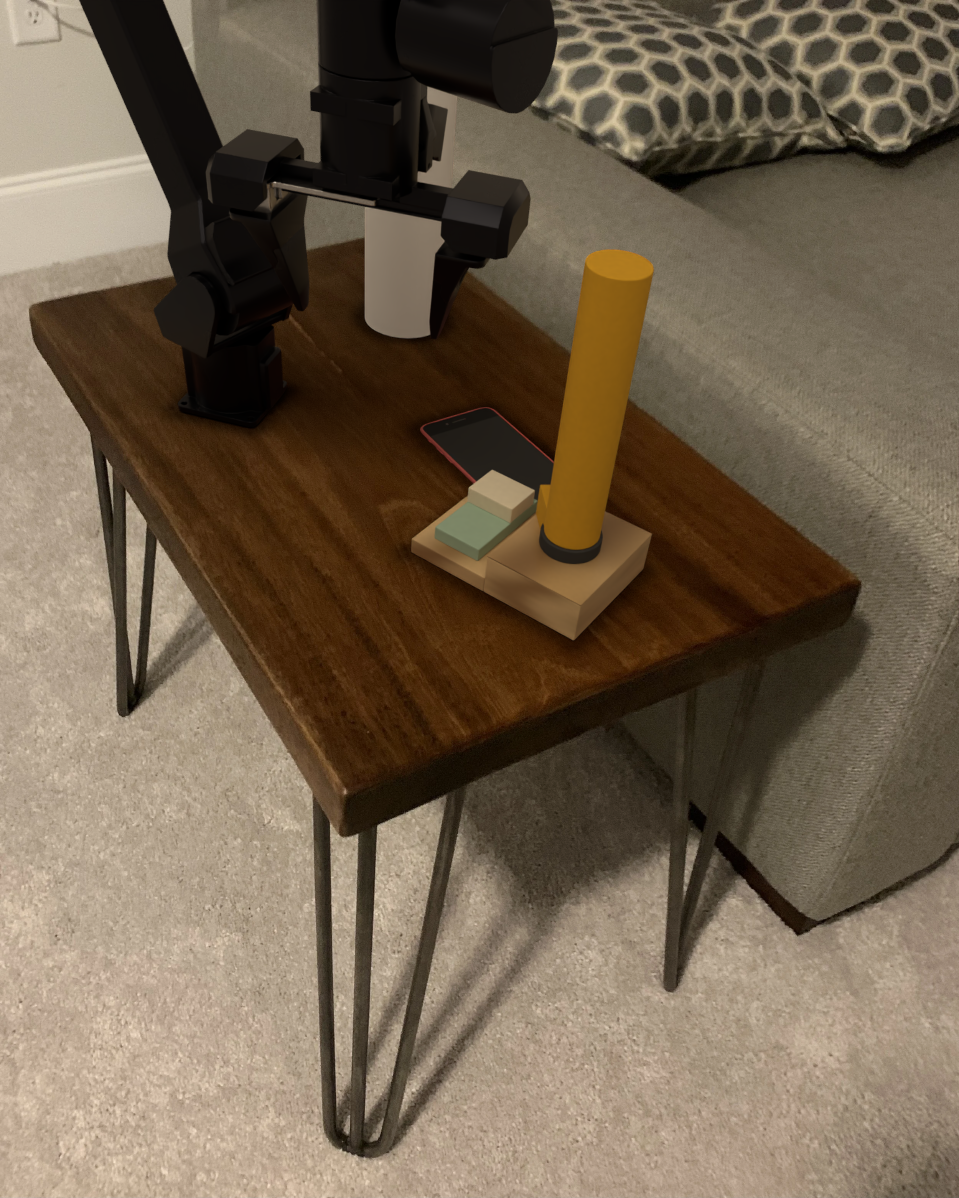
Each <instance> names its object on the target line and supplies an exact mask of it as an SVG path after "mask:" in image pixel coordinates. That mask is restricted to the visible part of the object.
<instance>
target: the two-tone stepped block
mask: <svg viewBox="0 0 959 1198" xmlns="http://www.w3.org/2000/svg"><path fill="white" fill-rule="evenodd" d="M467 490H468V492H467V496H468V502H467V503H465V504H464V505H463V506H462V507H460V508H459V509H458V510H456V511H455V512H454V513H453V514H451V515H450V516H449V517H447V518H446V519H445V520H444V521H442V522H441V523H440V524H438V525H437V526H436V527H435V539H437V540H439V541H441V542H443V543H445V544H447V545H448V546H450V547H452V548H454V549H456V550H458V551H460V552H462V553H463V554H465V555H467V556H469V557H471V558H473V559H475V560H477V561H478V560H479V559H481V558H482V557H483V556H484V555H485V554H487V553H488V552H489V551H490V550H491V549H492V548H494V547H495V546H496V545H497V544H498V543H500V542H501V541H502V540H503V539H504V538H505V537H507V536H508V535H509V534H510V533H511V532H513V531H514V530H515V529H516V528H517V527H518V526H520V525H521V524H522V523H523V522H524V521H526V520H527V519H528V518H529V517H530V516H531V515H533V514H534V513H535V512H536V509H537V502H538V501H537V500H536V499H534V494H535V490H533V489H531V488H529V487H527V486H525V485H523V484H521V483H519V482H516V481H514V480H512V479H510V478H508V477H506V476H504V475H502V474H500V473H498V472H496V471H494V470H491V471H490V472H489V473H487V474H486V475H485V476H483V477H482V478H481V479H479V480H478V481H477V482H475V483H474V484H473V483H472V484H471V485H470V486H469V487H468V489H467Z"/></svg>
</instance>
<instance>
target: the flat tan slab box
mask: <svg viewBox="0 0 959 1198" xmlns="http://www.w3.org/2000/svg"><path fill="white" fill-rule="evenodd" d="M467 502H468V495H467V496H465V497H464V498H463V499H461V500H460V501H458V503H456V504H455V505H454V506H452V507H451V508H450V509H448V510H446V511H445V513H443V514H442V515H440V516H439V517H438V518H437V519H435V520H434V521H433V522H431V523H429V525H428V526H427V527H425V528H424V529H423V530H421V531H420V532H418V533H417V534H416V535H414V537H412V538H411V545H410V547H411V548H410V552H411V553H412V554H414V555H416V556H417V557H419V558H421V559H423V560H424V561H427V562H428V563H430V564H431V565H434V566H436V567H437V568H439V569H441V570H443V571H445V572H446V573H448V574H451V575H452V576H454V577H456V578H458V579H460V580H461V581H463V582H465V583H467V584H469V585H470V586H473V587H474V588H476V589H477V590H480V591H481V592H483V593H485V594H487V595H489V596H491V597H493V598H495V599H496V600H498V601H500V602H501V603H504V604H506V606H509V607H510V608H512V609H515V610H517V611H518V612H520V613H522V614H524V615H526V616H527V617H529V618H530V619H533V620H535V621H537V622H538V623H540V624H542V625H544V626H545V627H547V628H549V629H551V630H553V631H555V632H557V633H559V634H561V635H562V636H564V637H566V638H567V639H570V640H572V641H575V640H576V639H577V638H578V637H579V636H580V635H581V634H582V633H584V631H585V630H586V629H587V628H588V627H589V626H590V625H591V623H593V621H594V620H596V619H597V618H598V616H599V615H600V614H601V613H602V612H603V611H604V610H605V609H606V608H607V607H608V606H609V605H610V604H611V603H612V602H613V601H614V600H615V599H616V598H617V597H618V596H619V595H620V594H621V593H622V592H623V591H624V589H626V588H627V586H629V584H630V583H631V582H633V580H634V579H635V578H636V577H638V575H639V574H640V573H641V572H642V571H643V570H644V568H645V563H646V559H647V555H648V551H649V548H650V543H651V540H652V536H653V533H652V532H649V531H648V530H645V529H643V528H641V527H639V526H637V525H635V524H633V523H630V522H629V521H627V520H624V519H622V518H621V517H619V516H616V515H614V514H612V513H610V512H608V511H606V510H605V514H604V519H603V524H602V529H601V531H602V534H603V539H602V544H601V549H600V552H599V554H598V555H597V556H596V557H595V558H594V559H593V560H591V561H589V562H586V563H581V564H567V563H562V562H559V561H556V560H554V559H552V558H551V557H549V556H548V555H546V554H545V553H544V552H543V550H542V549H541V547H540V544H539V536H540V527H539V523H538V519H537V515H536V512H535V513H534V514H533V515H531V516H530V517H529V518H528V519H527V520H526V521H524V522H523V523H522V524H521V525H520V526H518V527H517V528H516V529H515V530H514V531H513V532H511V533H510V534H509V535H508V536H507V537H505V538H504V539H503V540H502V541H501V542H500V543H498V544H497V545H496V546H495V547H494V548H492V549H491V550H490V551H489V552H488V553H487V554H485V555H484V556H483V557H482V558H481V559H479V560H478V561H477V560H475V559H473V558H471V557H469V556H467V555H465V554H463V553H462V552H460V551H458V550H456V549H454V548H452V547H450V546H448V545H447V544H445V543H443V542H441V541H439V540H437V539H435V527H436V526H437V525H438V524H440V523H441V522H442V521H444V520H445V519H446V518H447V517H449V516H450V515H451V514H453V513H454V512H455V511H456V510H458V509H459V508H460V507H462V506H463V505H464V504H465V503H467ZM537 503H538V502H537ZM536 510H537V509H536Z"/></svg>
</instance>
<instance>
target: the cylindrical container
mask: <svg viewBox="0 0 959 1198" xmlns="http://www.w3.org/2000/svg"><path fill="white" fill-rule="evenodd" d="M427 102H428V103H429V104H433V105H437V106H440V107H443V108H446V109H448V113H447V120H446V127H445V135H444V142H443V149H442V156H441V161H435V160H432V167H431V168H430V169H429V170H428V171H427V173H424V172H418V181H417V182H422V183H427V184H433V185H438V186H443V187H449V188H453V178H454V177H453V176H454V162H455V161H454V159H455V142H456V125H457V111H458V110H457V108H458V107H457V106H458V96H455V95H452V94H449V93H446V92H443V91H440V90H437V89H434V88H430V87H427ZM443 243H444V240H443V238H442V237H441V221H436V220H430V219H425V218H420V217H415V216H410V215H405V214H399V213H394V212H389V211H384V210H379V209H374V208H368V207H364V320H365V322H366V324H367V326H369V327H370V328H371V329H372V330H374V331H375V332H377V333H380V334H382V335H384V336H388V337H391V338H392V337H393V338H399V339H417V338H424V337H427V336H430V326H429V317H430V306H431V295H432V283H433V272H434V260H435V253H436V252H437V251H438V249H439V248H440V247H441V245H442V244H443Z"/></svg>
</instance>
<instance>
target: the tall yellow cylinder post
mask: <svg viewBox="0 0 959 1198" xmlns="http://www.w3.org/2000/svg"><path fill="white" fill-rule="evenodd" d="M654 272H655V268H654V265H653V263H652V262H651V261H650V260H649V259H648V258H646V257H645V256H643V255H641V254H638V253H636V252H632V251H628V250H623V249H614V248H613V249H612V248H610V249H600V250H596V251H593V252H591V253H590V254H588V255H587V256H586V258H585V260H584V266H583V272H582V281H581V285H580V292H579V298H578V306H577V311H576V318H575V325H574V330H573V337H572V344H571V351H570V356H569V363H568V369H567V377H566V382H565V389H564V396H563V402H562V403H563V404H562V408H561V414H560V421H559V427H558V433H557V441H556V447H555V453H554V460H553V461H554V466H553V472H552V479H551V485H540V489H539V496H538V503H537V510H536V515H537V519H538V523H539V527H540V536H539V544H540V547H541V549H542V550H543V552H544V553H545V554H546V555H548V556H549V557H551V558H552V559H554V560H556V561H559V562H562V563H567V564H581V563H586V562H589V561H591V560H593V559H594V558H595V557H596V556H597V555H598V554H599V552H600V549H601V544H602V539H603V534H602V531H601V529H602V524H603V519H604V514H605V511H606V509H607V504H608V498H609V493H610V490H611V489H610V488H611V484H612V483H611V482H612V478H613V475H614V470H615V464H616V459H617V455H618V450H619V446H620V445H619V444H620V439H621V434H622V429H623V424H624V420H625V416H626V410H627V405H628V402H629V401H628V400H629V395H630V391H631V386H632V381H633V377H634V376H633V375H634V372H635V366H636V361H637V356H638V351H639V346H640V341H641V337H642V333H643V332H642V331H643V326H644V322H645V317H646V311H647V306H648V303H649V296H650V293H651V287H652V282H653V278H654V274H655V273H654Z"/></svg>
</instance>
